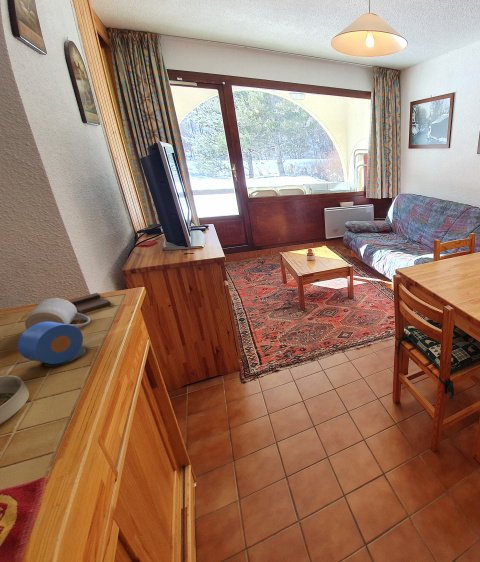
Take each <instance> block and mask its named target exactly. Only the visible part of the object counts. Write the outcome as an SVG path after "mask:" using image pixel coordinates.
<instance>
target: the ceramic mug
mask: <svg viewBox="0 0 480 562" xmlns="http://www.w3.org/2000/svg"><path fill="white" fill-rule="evenodd" d="M75 319H78V320H83V321H86V322H84V323H79V324H78V323H77V324H76V323H75V324H74V323H73V324H72V322H73V321H74V320H75ZM41 322H56V323H62V324H67V325H72V326H75V327H77V328H78V329H80V328H83V327H84V326H86V325H88V324H89V323H90V322H91V319H90V317H89V316H88V315H86V314H84V313H81V312H78V309H76V307H75V306H74V305H73V304H72V303H71V302H70V301H69V300H66V299H64V298H59V297H53V298H52V297H51V298H47V299H44V300H42V301H40V302H39V303H38V304H37V306H35V308H34V309H33V310H32V311H31V312H30V314H29V315H28V316H27V318H26V320H25V327H26V330H27V329H28V328H30V327H31V326H33V325H35V324H38V323H41Z"/></svg>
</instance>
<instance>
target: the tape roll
mask: <svg viewBox="0 0 480 562" xmlns="http://www.w3.org/2000/svg"><path fill="white" fill-rule="evenodd" d="M83 342H84V336H83V333H82V330H80V328H77V327H75V326H72V325H67V324H62V323H56V322H41V323H38V324H35V325H33V326H31V327H30V328H28V329H27V328H26V330H25V331H24V332H22V334H21V335H20V337H19V339H18V342H17V349H18V352H19V354H20V355H21V356H22V357H23V358H25V359H26V360H29V361H34V362H39V363H43V364H44V363H48V364H59V363H63V362H65V361H67V360H69V359H71V358H72V357H74V356H75V355H76V354H77V353H78V351H79V350H80V348H81V347H82V346H83Z"/></svg>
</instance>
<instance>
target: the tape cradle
mask: <svg viewBox="0 0 480 562" xmlns="http://www.w3.org/2000/svg"><path fill="white" fill-rule="evenodd" d="M68 301H69V302H71V303H72V304H73V305H74V306H75V307H76V309H77V311H79V313H80V314H86V313H89V312H93V311H95V310H98V309H102V308H105V307H109V306H111V305H112V303H111V301H110V300H108V299H103V298H102V297H101V294H100V293H98V292H94V293H90V294H86V295H83V296H79V297H76V298H73V299H68Z"/></svg>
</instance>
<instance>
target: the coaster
mask: <svg viewBox="0 0 480 562" xmlns="http://www.w3.org/2000/svg"><path fill="white" fill-rule="evenodd" d="M85 354H86V348H84V347H82V346H81V348H80V350H79V351H78V353H77V354H76V355H75V356H74V357H72V358H71V359H69V360H67V361H65V362H63V363H59V364H48V363H43V365H44V366H45V367H48V368H56V367H62V366H65V365H68V364H71V363H73V362H75V361H78V360H79V359H81V358H82V357H83V356H84V355H85Z"/></svg>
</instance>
